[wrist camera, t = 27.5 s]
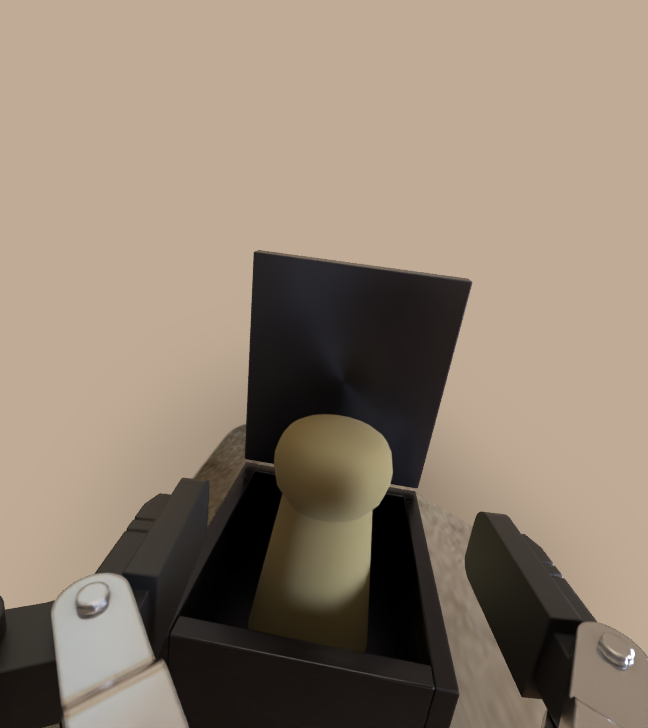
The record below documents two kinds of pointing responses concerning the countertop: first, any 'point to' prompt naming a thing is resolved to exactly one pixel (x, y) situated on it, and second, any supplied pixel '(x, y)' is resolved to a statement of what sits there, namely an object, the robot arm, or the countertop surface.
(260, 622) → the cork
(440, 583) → the countertop surface
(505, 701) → the countertop surface
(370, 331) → the warmer lid
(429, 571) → the box
